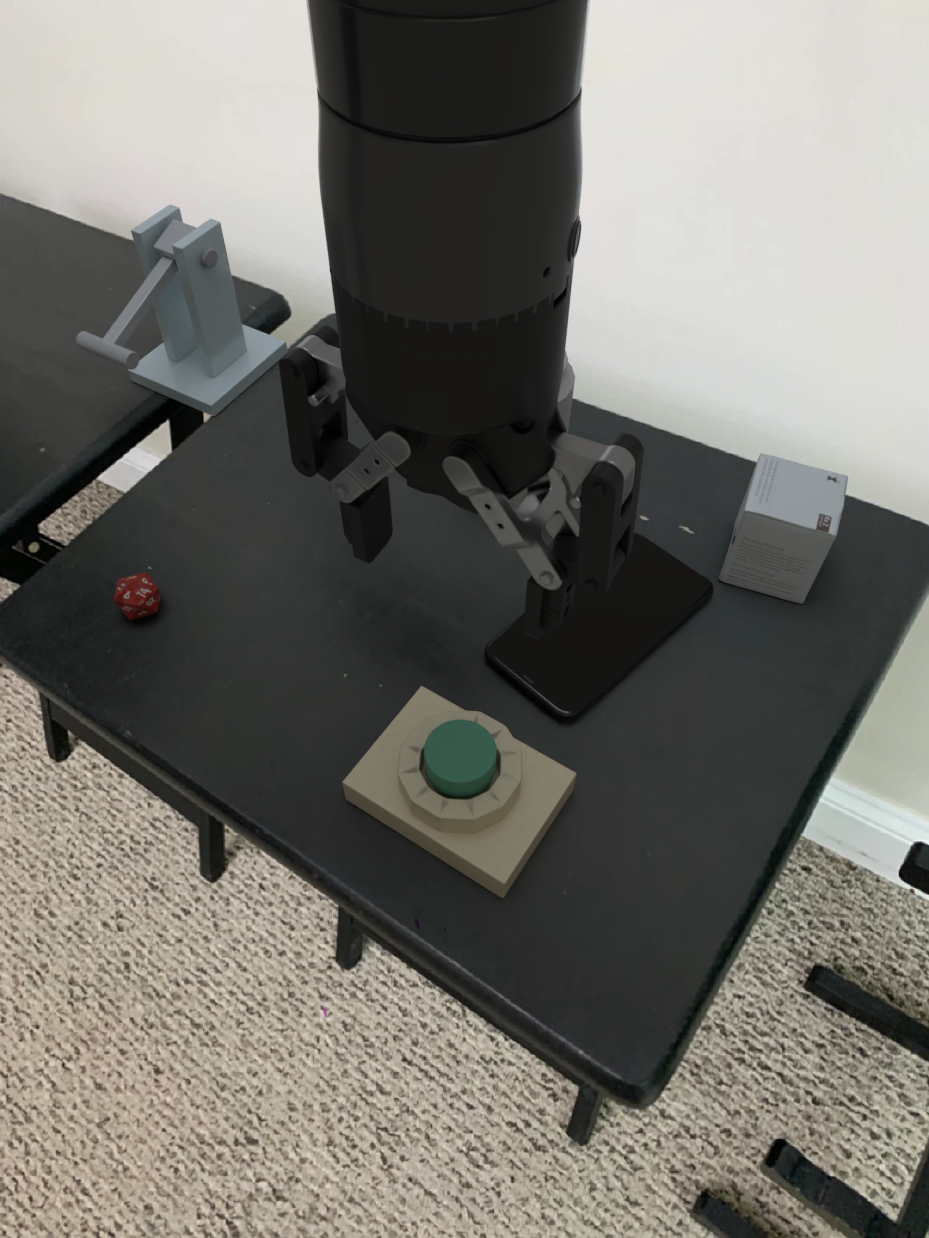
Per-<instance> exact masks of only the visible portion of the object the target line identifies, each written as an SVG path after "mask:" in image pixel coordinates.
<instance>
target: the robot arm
mask: <svg viewBox="0 0 929 1238" xmlns="http://www.w3.org/2000/svg"><path fill="white" fill-rule="evenodd" d="M305 1H306V2H305V3H306V10H307V19H308V26H309V36H310V45H311V53H312V62H313V70H314V77H315V78H314V79H315V84H316V94H317V95H316V96H317V106H318V107H317V110H318V112H317V113H318V114H317V115H318V118H317V119H318V133H317V135H318V136H317V170H318V171H317V172H318V183H319V194H320V202H321V203H320V204H321V210H322V217H323V227H324V233H325V242H326V250H327V257H328V259H327V260H328V266H329V273H330V281H331V289H332V296H333V306H334V312H335V313H334V314H335V320H336V321H335V322H336V330H337V331H336V330H335V329H334V328H333V327H331V326H329V325H326V324H320V325H319V326H317V327H316V328H315V329H314V330H313V331H312V332H310V333H309V335H307V336H306V337H305V338H304V339H302V341H300V342H299V343H298V344H297V345H296V346H295V347H294V348H292V350H291V351H288V353H287V354H286V355H285V356H283V357H282V358H281V359H280V360H279V361H278V370H279V378H280V384H281V392H282V399H283V400H282V401H283V407H284V415H285V421H286V428H287V429H286V430H287V436H288V442H289V443H288V444H289V450H290V459H291V463H292V465H293V467H294V468H295V470H296V471H297V472H298V473H300V474H301V475H302V476H304V477H307V478H313V477H315V476H316V475H317V474H318V475H320V477H322V478H323V479H325V480H326V481H328V488H329V491H330V493H331V494H332V496H333V497H334V498H335V499H336V500H338V502H339V503H338V504H339V509H340V516H341V522H342V529H343V535H344V537H345V539H346V541H347V542H348V544H350V545H351V549H352V554H353V557H354V558H356V559H358V560H360V561H362V562H364V563H367V564H371V563H372V562H373V561H374V560H375V559H376V558H377V556H379V554H381V552H382V551H383V550H384V548H385V547H386V546H387V545H388V543H389V542H390V541H391V538H392V536H393V532H394V528H393V527H394V526H393V517H392V506H391V505H392V504H391V495H390V494H391V493H390V482H389V477H388V476H387V475H389V474H390V473H391V472H393V471H394V470H395V471H396V473H398V475H400V476H401V477H402V478H403V479H405V480H406V486H407V487H409V488H412V489H414V490H416V491H419V492H420V493H424V494H429V495H435V496H440V497H442V498H444V499H446V500H447V501H449V502H450V503H452V504H454V505H455V506H457V507H458V508H460V509H463V510H465V511H468V512H471V513H473V514H475V515H479V517H480V518H481V519H482V521H483V522H484V524H485V525H486V527H487V529H489V531H490V533H491V534H492V536H493V537H494V539H495V540H496V542H497V543H498V545H499V546H500V547H501V548H502V549H504V550H507V549H513V550H514V551H515V553H516V554H517V556H518V557H519V559H520V560H521V561H522V563H523V564H524V566H525V568H526V569H527V570H528V572H529V573H530V576H529V577H528V579H527V582H526V593H525V604H524V613H525V615H524V627H523V633H525V634H527V635H530V636H532V637H534V638H536V639H540V638H541V637H542V635H543V634H544V632H545V631H549V632H551V633H554V632H555V631H556V630H557V629H558V628H559V626H560V625H561V623H562V621H563V620H564V618H565V617H566V615H567V614H568V612H569V610H570V609H571V607H572V606H573V602H574V595H575V588H576V585H577V586H578V587H579V589H580V590H581V591H582V592H583V593H585V594H586V595H588V596H590V597H594V598H600V597H602V596H604V595H605V593H606V592H607V590H608V588H609V587H610V585H611V581H612V580H613V578H614V576H615V575H616V573H617V571H618V570H619V568H620V567H621V565H622V563H623V562H625V561H626V559H627V558H628V556H629V554H630V553H631V551H632V544H633V536H634V532H635V529H636V519H637V511H638V503H639V496H640V495H639V494H640V489H641V480H642V471H643V463H644V455H645V449H644V446H643V444H642V442H641V441H640V440H639V439H638V438H637V436H634V435H633V434H630V433H627V432H620V433H618V434H616V435H614V436H613V437H612V439H611V440H610V442H609V443H608V444H604V443H600V442H596V441H593V440H590V439H587V438H584V437H580V436H577V435H574V434H571V433H569V432H568V433H567V429H566V426H565V424H564V421H563V419H562V417H561V414H560V411H559V407H558V395H559V390H560V385H561V380H562V374H563V367H564V357H565V351H566V346H567V336H568V328H569V327H568V325H569V315H570V307H571V297H572V287H573V278H574V277H573V276H574V267H575V258H576V256H577V254H578V249H579V246H580V241H581V233H582V220H581V215H580V207H581V197H582V188H583V187H582V186H583V185H582V184H583V172H584V171H583V170H584V169H583V168H584V167H583V141H582V140H583V138H582V136H583V135H582V97H583V96H582V93H583V86H582V84H583V81H584V71H585V62H586V51H587V40H588V39H587V38H588V31H589V29H588V28H589V20H590V19H589V18H590V7H591V0H305ZM347 401H348V403H349V404H350V406H351V408H352V409H353V411H354V413H355V414H356V416H357V417H358V418H359V420H360V421H361V423H362V424H363V426H364V427H365V429H366V430H367V431H368V433H369V435H370V436H371V437H372V438H371V439H370V440H369V441H367V443H366V444H364V445H363V447H362V448H361V449H360V448H359V447H358V446H356V445H354V444H353V443H352V442H350V441H349V427H348V414H347V413H348V412H347V411H348V410H347ZM555 469H556V470H558V471H559V472H561V473H562V474H563V477H564V478H565V479H566V481H567V484H568V490H569V492H570V494H571V496H570V498H569V500H568V502H569V503H568V504H569V505H570V506H571V507H572V508H573V509H575V510H579V511H580V512H579V523H578V522H577V520H576V518H575V516H574V515H573V513H572V512H571V510H570V509H569V507H568V505H567V494H568V493H567V487H566V485H565V483H564V481H563V478H562V479H561V478H560V476H559V474H558V473H557V471H556V470H555ZM526 488H527V495H526V498H525V499H524V500H523V502H522V503H521V504H520V506H519V507H518V509H517V510H515V509H514V507H513V506H512V504H511V503H510V501H509V500H510V499H511V498H513V497H514V496H516V495H517V494H519V493H520V492H521V491H523V490H524V489H526ZM544 529H545V531H546V532H547V534H548V535H549V537H550V538H551V542H550V544H549V543H548V542H547V540H546V539H545V537H544Z"/></svg>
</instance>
